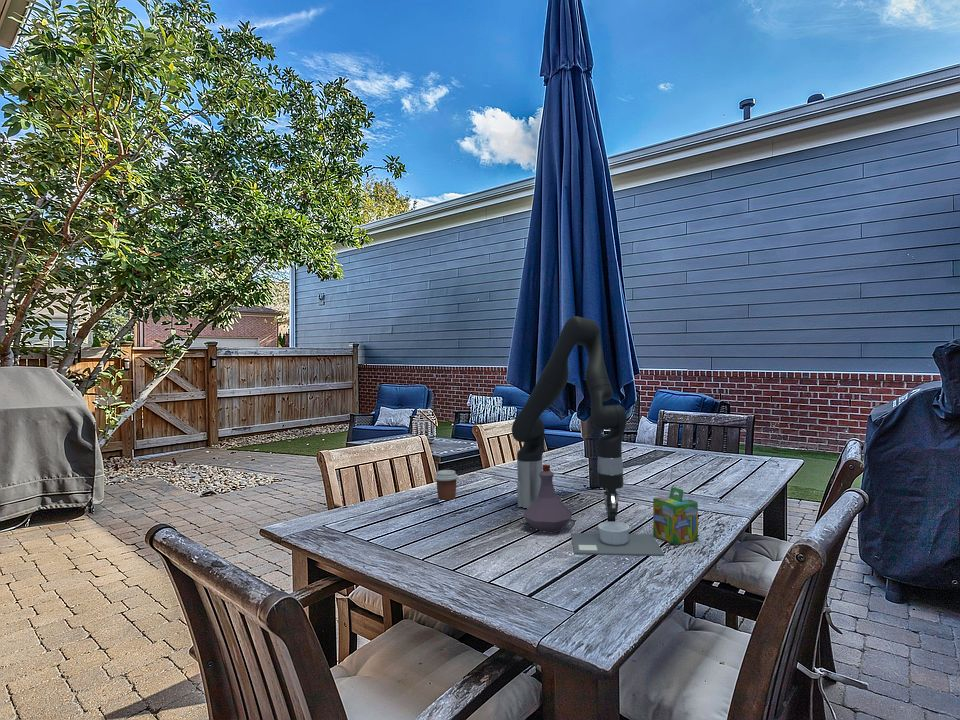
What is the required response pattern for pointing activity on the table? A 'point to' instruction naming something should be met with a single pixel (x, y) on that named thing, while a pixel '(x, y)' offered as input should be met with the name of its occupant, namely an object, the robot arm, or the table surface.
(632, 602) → the table surface
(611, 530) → the ramekin
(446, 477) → the coffee cup
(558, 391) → the robot arm
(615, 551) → the label placard
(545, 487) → the flask
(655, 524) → the chalk box
